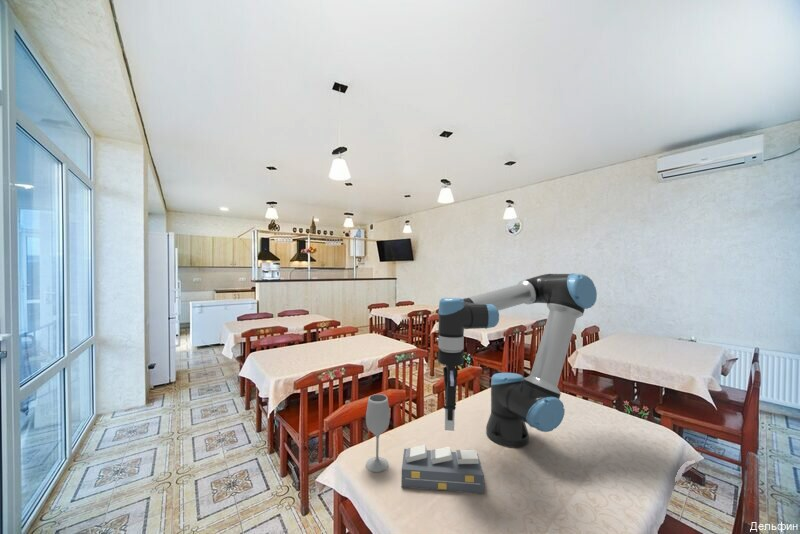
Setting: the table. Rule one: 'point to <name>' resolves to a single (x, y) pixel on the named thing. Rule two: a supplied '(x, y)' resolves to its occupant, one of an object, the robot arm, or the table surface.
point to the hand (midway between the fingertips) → (449, 429)
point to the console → (442, 475)
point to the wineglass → (377, 427)
